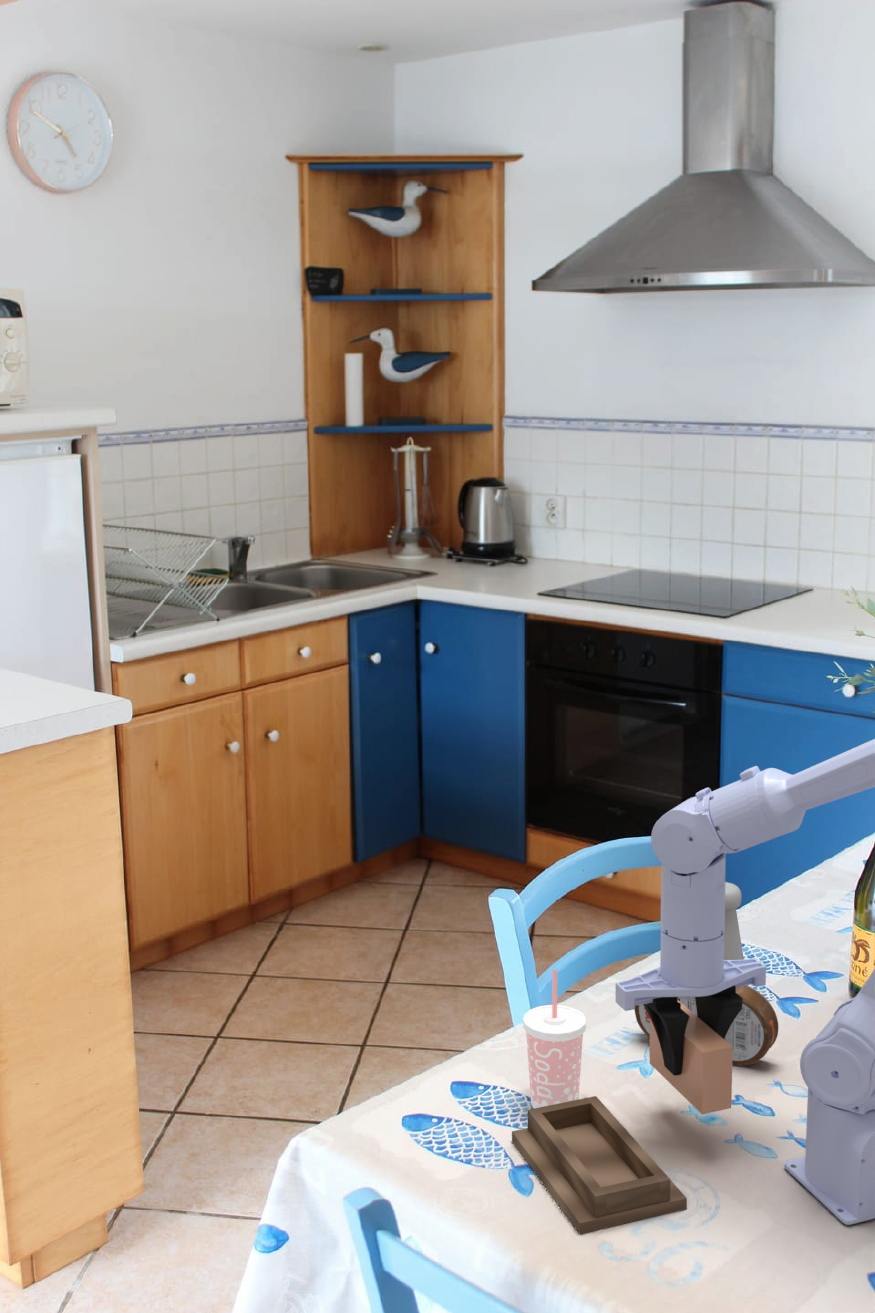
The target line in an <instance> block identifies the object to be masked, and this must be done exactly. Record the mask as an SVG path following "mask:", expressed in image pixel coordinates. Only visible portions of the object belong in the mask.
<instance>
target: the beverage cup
mask: <svg viewBox="0 0 875 1313" xmlns="http://www.w3.org/2000/svg"><path fill="white" fill-rule="evenodd" d="M551 975H552V976H551V986H552V989H551V990H552V991H551V992H552V993H551V995H552V996H551V998H552V999H551V1000H552V1002H551V1004H547V1005H539V1006H536V1007H534V1008H530V1009H528V1011H527V1012H525V1013H524V1015H523V1019H522V1023H523V1029H524V1031H525V1036H526V1045H527V1063H528V1076H529V1077H528V1078H529V1090H530V1104H531V1106H532V1109H534V1108H539V1107H544V1106H549V1105H554V1104H559V1103H564V1102H569V1101H574V1100H579V1097H580V1096H579V1095H580V1082H581V1070H582V1068H581V1066H582V1055H583V1052H582V1051H583V1041H584V1040H583V1038H584V1033H585V1032H586V1028H587V1026H586V1025H587V1017H586V1016H585V1014H584V1012H582V1011H580V1010H578V1009H576V1008H574V1007H572V1006H571V1007H570V1006H567V1005H563V1004H562V1005H561V1004H558V970H557V969H552V970H551Z"/></svg>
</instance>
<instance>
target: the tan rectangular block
mask: <svg viewBox="0 0 875 1313" xmlns="http://www.w3.org/2000/svg"><path fill="white" fill-rule="evenodd" d="M678 1002H679V1003H681V1002H680V1001H678ZM681 1009H682V1010H683V1011H684V1012H685V1013H687V1014H688V1015H689V1016H690V1017H689V1020H688V1023H687V1026H686V1030H685V1036H684V1042H683V1067H682V1073H681V1075H676V1076H675V1075H673V1074H672V1073H671V1072H670V1071H669V1070H668V1069H667V1068H666V1067H665V1066H664V1060H663V1055H662V1051H661V1047H660V1043H659V1040H658V1036H657V1033H656V1031H655V1028H654V1026H653V1023H652V1021H651V1019H650V1038H649V1064H650V1066H652V1068H654V1069H655V1071H657V1072H658V1073H659V1074H660V1075H661V1076H662V1077H663V1078H664V1079H665V1080H666V1081H667V1082H668V1083H669V1084H670V1085H671V1086H672V1087H673V1088H674V1089H675V1090H676V1091H677V1092H678V1093H680V1095H681V1096H683V1097H684V1099H685V1100H687V1102H688V1103H689V1104H691V1105H692V1106H693V1107H694V1108H695V1110H697V1111H698V1113H700V1114H701V1115H705V1114H710V1113H715V1112H719V1111H725V1110H729V1109H732V1095H733V1094H732V1091H733V1090H732V1086H733V1085H732V1084H733V1065H732V1052H733V1047H732V1046H731V1045H730V1044H729V1043H728V1042H727V1041H725V1040H724V1039H723V1038H722V1037H721V1036H719V1035H718V1034H717V1033H716V1032H715V1031H714V1030H712V1029H711V1028H710V1027H709V1026H708V1025H707V1024H705V1023H704V1022H703V1021H702V1020H701V1019H700V1018H698V1017H697V1016H696V1015H695V1014H694V1013H692V1012H691V1011H690V1010H689V1009H688V1008H687V1007H685V1006H684V1005H683V1004H682V1003H681Z"/></svg>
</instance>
